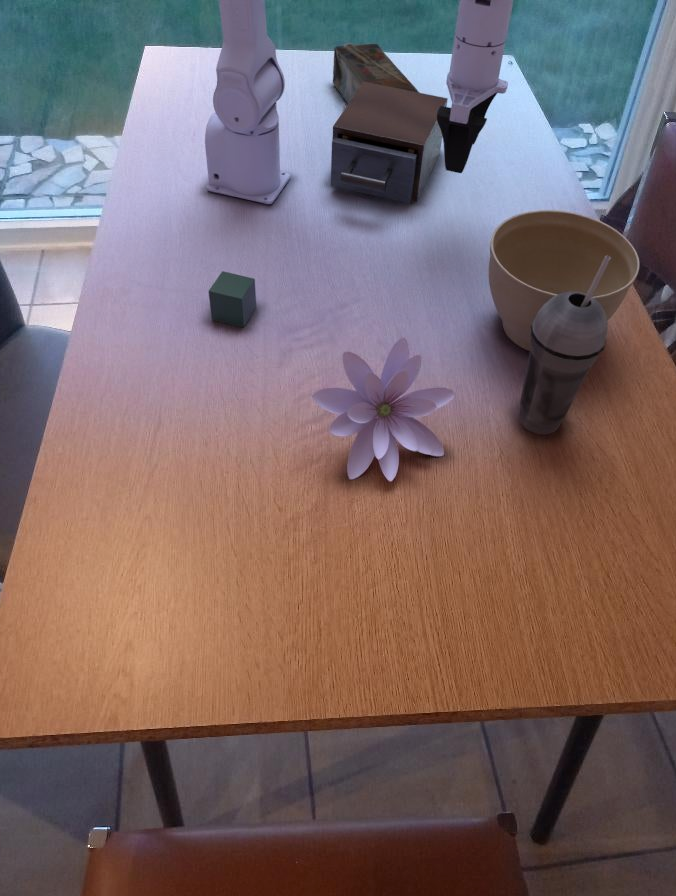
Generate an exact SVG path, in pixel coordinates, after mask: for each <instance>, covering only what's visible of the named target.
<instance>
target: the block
mask: <svg viewBox="0 0 676 896" xmlns="http://www.w3.org/2000/svg"><path fill="white" fill-rule="evenodd" d="M208 298H209V307H210V308H209V309H210V314H211V315H210V316H211V320H212V321H216V322H220V323H224V324H227V325H233V326H236V327H241V328H245V327H246V325H247V323H248V322H249V321H250V318H251V317H252V315H253V314H254V312H255V310H256V309H257V292H256V278H253V277H249V276H244V275H241V274H236V273H232V272H227V271H224V270H222V271H221V272H220V273H219V275H218V277H217V278H216V279H215V280H214V282H213V284H212V285H211V286H210V287H209V289H208Z"/></svg>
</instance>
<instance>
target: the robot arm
mask: <svg viewBox="0 0 676 896" xmlns="http://www.w3.org/2000/svg"><path fill="white" fill-rule="evenodd" d="M513 5H514V0H459V2H458V10H457V17H456V24H455V29H454V30H455V32H454V37H453V44H452V52H451V59H450V66H449V71H448V72H447V74H446V80H445V81H446V86H447V90H448V93H449V96H450V100H451V106H450V107H448V106H447V107H444V106H440V108H439V110H438V112H437V122H438V124H439V127H440V129H441V133H442V142H443V155H444V167H445V171H447V172H451V173H457V174H462V173H463V172H464V170H465V168H466V165H467V163H468V160H469V157H470V154H471V151H472V148H473V145H475V143H476V142H477V139H478V138H479V134H480V133H481V131H482V130H483V128H484V127H485V125H486V123H487V121H488V118H486V115H487V112H488V109H489V108H490V106H491V105H492V104H491V103H492V102H493V100H494V99H495V98H496V96H497V94H501V95H504V94H506V92H507V90H508V86H509V81H507V80H505V79H501V78H500V72H501V67H502V63H503V57H504V52H505V48H506V47H505V46H506V42H507V36H508V31H509V26H510V20H511V16H512V10H513ZM218 6H219V14H220V15H219V16H220V24H221V32H222V46H221V49H220V53H219V56H218V61H217V62H216V63H217V64H216V68H215V72H216V86H215V88H214V91H213V94H212V95H213V96H212V106H213V109H214V112H213V113H212V114H211V115H210V117H209V119H208V120H207V123H206V127H205V133H204V148H205V158H206V167H207V177H208V184H207V186H206V189H207V191H208V192H212V193H216V194H221V195H225V196H230V197H235V198H239V199H244V200H248V201H253V202H257V203H261V204H266V205H272V204H274V202H275V201H276V199H277V197H278V196H279V195H280V193H281V191H282V190H283V189H284V187H285V185H287V183H288V182H289V180H290V179H291V174H290V173H288V172H284V171H281V156H280V154H281V151H280V150H281V149H280V118H279V117H280V116H279V113H278V109H277V106H278V105H277V102H278V101H279V100H280V99H281V98H282V96H283V94H284V93H285V92H284V91H285V86H286V81H285V76H284V72H283V69H282V68H281V67H280V65H279V64H280V63H279V61H278V58H277V52H276V51H277V50H276V45H275V44H274V42H273V41H272V40H271V39H270V37H269V36H268V27H267V13H266V12H267V11H266V0H218Z"/></svg>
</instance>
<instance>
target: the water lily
mask: <svg viewBox="0 0 676 896" xmlns="http://www.w3.org/2000/svg"><path fill="white" fill-rule="evenodd" d="M342 366H343V369H344V373H345V375H346V377H347V379H348V380H349V382H350V384H351V385H352V387H353V389H350V388H346V387H345V388H344V387H338V386H337V387H333V386H332V387H327V388H326V387H325V388H322V389H319V390H316V391H315V392H313V393H312V394H311V398H312V400H313V401H314V402H315V404H316V405H318V406H319V408H321V409H323V410H324V411H327V412H329V413H332V414H334V415H338V416H336V418H335V419H334V420H333V421H331V424H330V425H329V426H328V432H329V434H330V435H333V436H336V437H351V436H352V435H355V434H356V436H355V438H354V440H353V442H352V445H351V447H350V451H349V453H348V458H347V465H346V472H347V477H348V479H349V480H356V479H357V478H359V477H360V476H362V475H363V474H364V473H365V472H366V471H367V469H368V468H369V467H370V465H371V464H372V462H373V460H374V459H375V458H376V459H377V460H378V464H379V467H380V469H381V472H382V474H383V476H384V477H385V478H386V480H387V481H388V482H390V483H391V482H393V480H394V479H395V478H396V475H397V473H398V469H399V465H400V464H399V463H400V455H399V447H398V443H399V444H400V445H401V446H402V447H404V448H405V449H407V450H410V451H412V452H418V453H420V454H424V455H430V456H432V457H443V456H444V455H445V449H444V447H443V444H442V442H441V441H440V439H439V438H438V436H437V435H436V434H435V433H434V432H433V431H432V430H431V428H429V427H428V426H426V425H425V424H424V423H423V422H421V421H420V420H418V419H416V418H424V417H426V416H429V415H431V414H432V413H433V412H434V411H435V410H437V409H440V408H442V407H444V406H446V405H447V404H448V403H450V402H451V401H452V400H453V399H454V398H455V396H456V394H457V392H456V391H455V390H453V389H452V388H448V387H444V386H443V387H442V386H432V387H426V388H422V389H418V390H414V391H411V392H409V393H407V394H405V393H406V392H407V391H408V390H409V389H410V388H411V387H412V385H413V383H414V382H415V381H416V379H417V377H418V375H419V373H420V370H421V367H422V356H421V354H416V355H413V356H412V357H410V347H409V343H408V340H407V338H406V337H405V336H401V337H400V338H399V339H398V340H397V341H395V343H394V344H393V346H392V347H391V349H390V350H389V352H388V354H387V356H386V359H385V362H384V364H383V368H382V371H381V375H380V377H379V376H378V375H377V374H376V373H375V372H374V371H373V369H372V368H371V366H370V365H369V363H367V361H365V359H364V358H362V357H361V356H360V355H359V354H357V353H354V352H352V351H349V350H347V351H346V350H345V351H343V352H342ZM404 394H405V395H404Z"/></svg>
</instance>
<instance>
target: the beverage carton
mask: <svg viewBox="0 0 676 896" xmlns="http://www.w3.org/2000/svg"><path fill="white" fill-rule="evenodd" d="M363 82H368V83H373V84H378V85H383V86H388V87H393V88H398V89H403V90H408V91H413V92H418V93H421V92H420V91H419V90H418V89H417V88H416V87H415V85H413V83H412V82H411V81H410V80H409V79H408V78H407V77H406V75H404V74H403V72H402V71H401V70H400V69H399V68H398V67H397V65H396V64H395V63H394V62H393V61H392V60H391V58H390V57H389V56H388V55H387V54H386V53H385V52H384V51H383V49H382V47H380V46H379V44H377V43H367V44H354V43H350V42H347V43H344V44H343V45H337V46H335V47H334V48H333V68H332V84H333V85H334V87H335V88H336V89H337V91H338V92H339V93H340V95H341V96H342V98H343V99H344V101H345V102H346V103H347V105H348V104H349V102H350V101H351V99H352V98H353V96H354V95H355V93H356V92H357V90H358V89H359V87H360V86H361V85H362V83H363Z"/></svg>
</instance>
